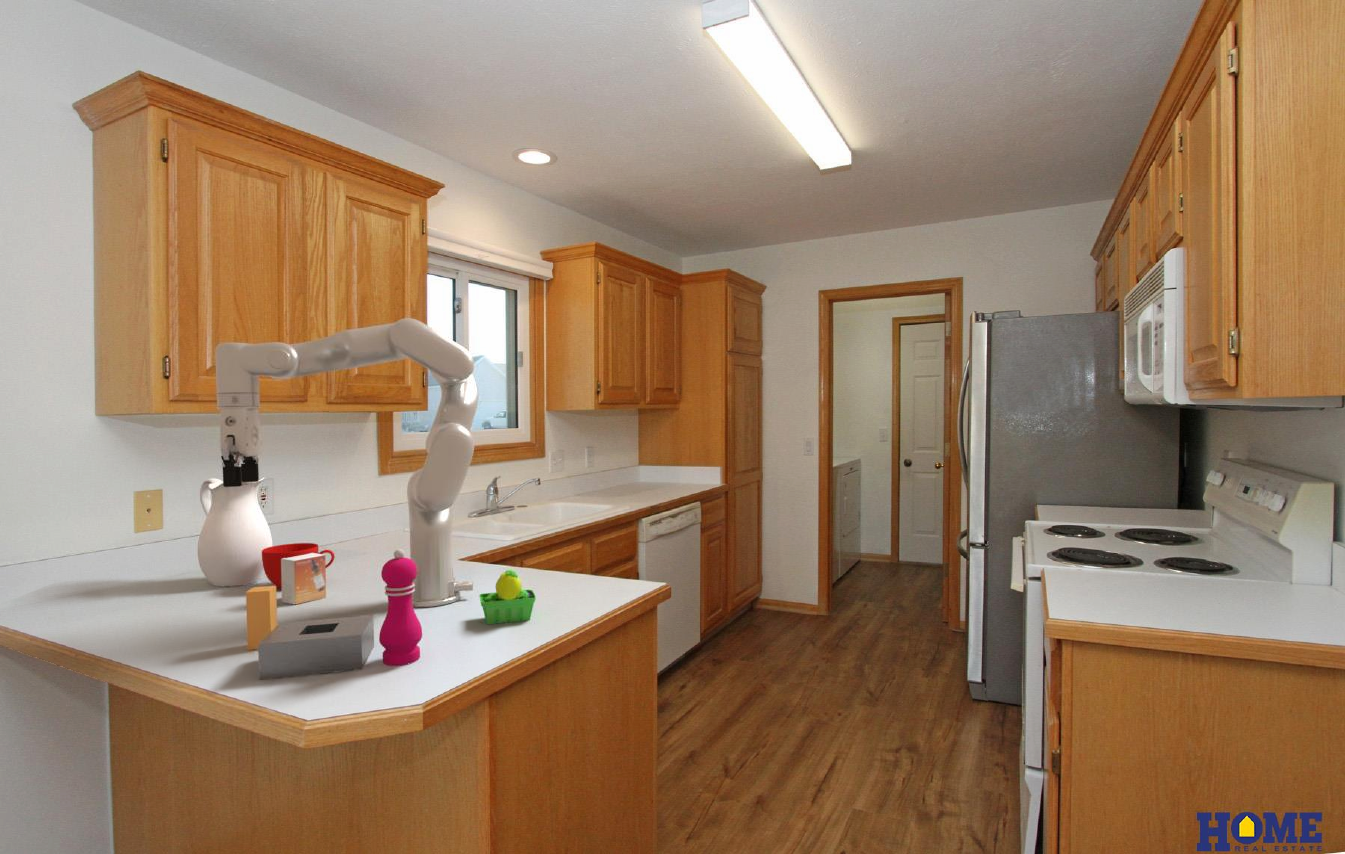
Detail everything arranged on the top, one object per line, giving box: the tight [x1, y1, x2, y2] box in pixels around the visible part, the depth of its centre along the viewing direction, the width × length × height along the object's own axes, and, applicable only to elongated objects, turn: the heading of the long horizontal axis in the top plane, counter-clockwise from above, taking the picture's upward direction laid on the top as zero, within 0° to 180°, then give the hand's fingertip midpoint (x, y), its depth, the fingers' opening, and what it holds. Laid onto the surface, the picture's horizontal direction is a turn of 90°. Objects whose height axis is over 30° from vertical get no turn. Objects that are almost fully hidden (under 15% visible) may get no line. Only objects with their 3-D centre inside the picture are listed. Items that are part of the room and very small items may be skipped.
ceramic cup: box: [262, 542, 335, 590], centre depth 179 cm, size 13×17×10 cm
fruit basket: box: [478, 569, 537, 625], centre depth 146 cm, size 11×9×11 cm
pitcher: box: [197, 477, 273, 587], centre depth 185 cm, size 24×17×28 cm
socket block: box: [257, 615, 375, 681], centre depth 123 cm, size 16×12×6 cm
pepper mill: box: [378, 548, 423, 667], centre depth 123 cm, size 7×7×20 cm
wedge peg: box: [245, 585, 278, 651], centre depth 132 cm, size 4×4×11 cm
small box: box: [281, 553, 327, 606], centre depth 164 cm, size 8×6×10 cm
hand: (241, 484), depth 143 cm, fingers open, 9 cm apart
